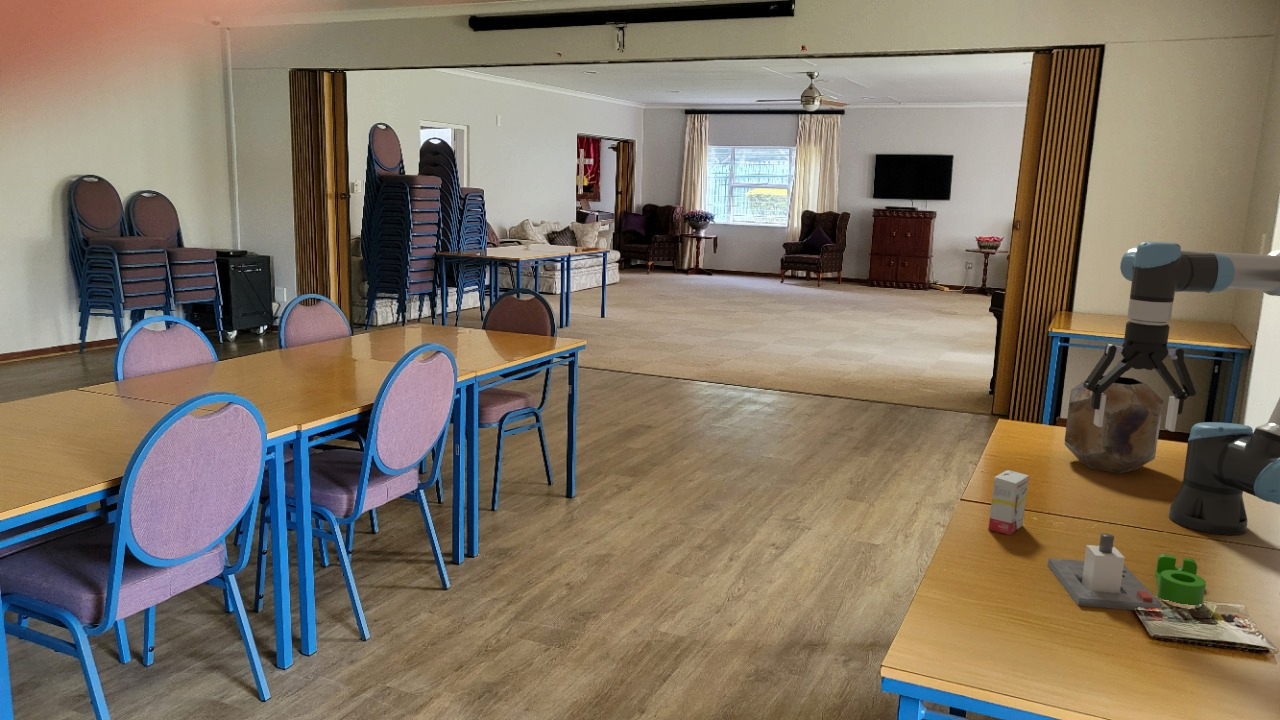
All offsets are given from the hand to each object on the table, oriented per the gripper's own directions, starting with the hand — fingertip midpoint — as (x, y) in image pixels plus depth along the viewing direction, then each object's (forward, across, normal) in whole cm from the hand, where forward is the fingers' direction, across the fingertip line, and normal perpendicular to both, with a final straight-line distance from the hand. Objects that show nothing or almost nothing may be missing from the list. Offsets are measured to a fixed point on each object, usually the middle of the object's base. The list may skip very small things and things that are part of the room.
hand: (1133, 427), depth 187 cm
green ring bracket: (+27, -5, +17) cm, 33 cm away
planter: (+27, -21, -66) cm, 74 cm away
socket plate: (+27, +9, +18) cm, 33 cm away
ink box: (+27, +19, -11) cm, 35 cm away
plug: (+27, +10, +20) cm, 35 cm away
